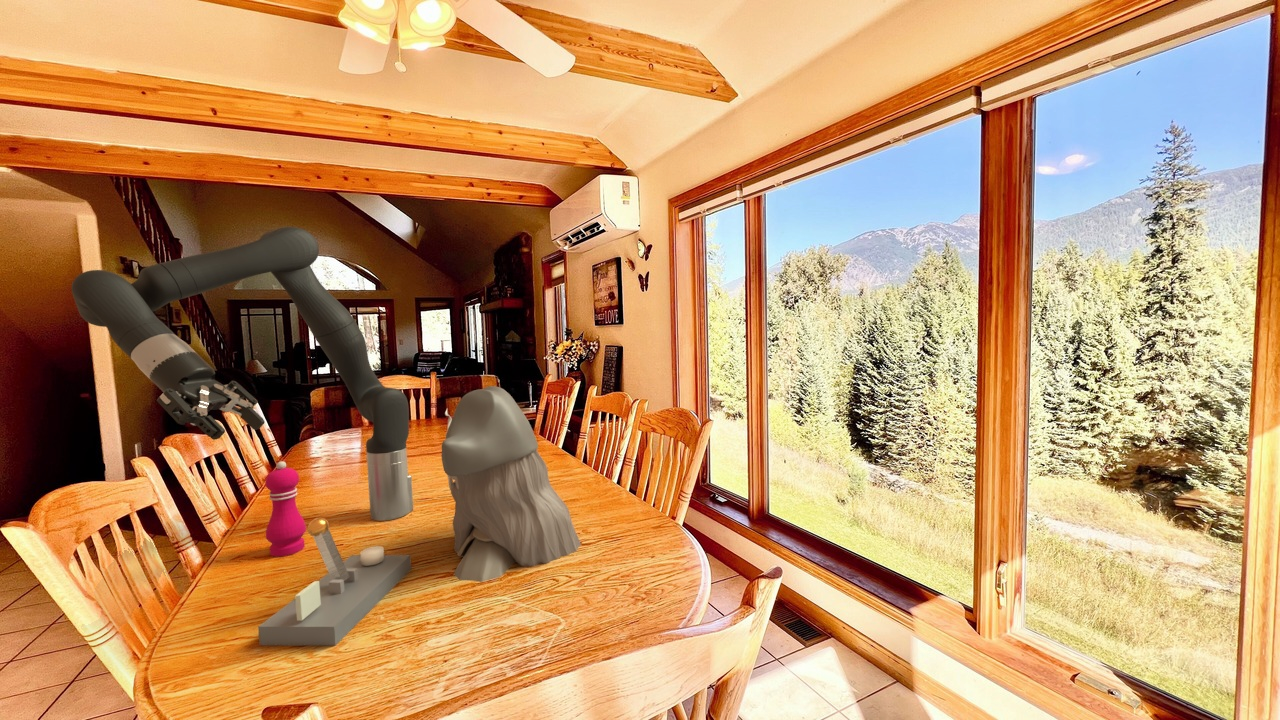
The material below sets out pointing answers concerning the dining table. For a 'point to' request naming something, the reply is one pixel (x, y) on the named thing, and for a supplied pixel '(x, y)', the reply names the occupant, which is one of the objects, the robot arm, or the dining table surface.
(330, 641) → the control panel
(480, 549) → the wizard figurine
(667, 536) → the dining table surface
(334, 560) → the toggle lever
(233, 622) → the dining table surface
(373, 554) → the push button
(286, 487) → the pepper mill
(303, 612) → the paddle switch
